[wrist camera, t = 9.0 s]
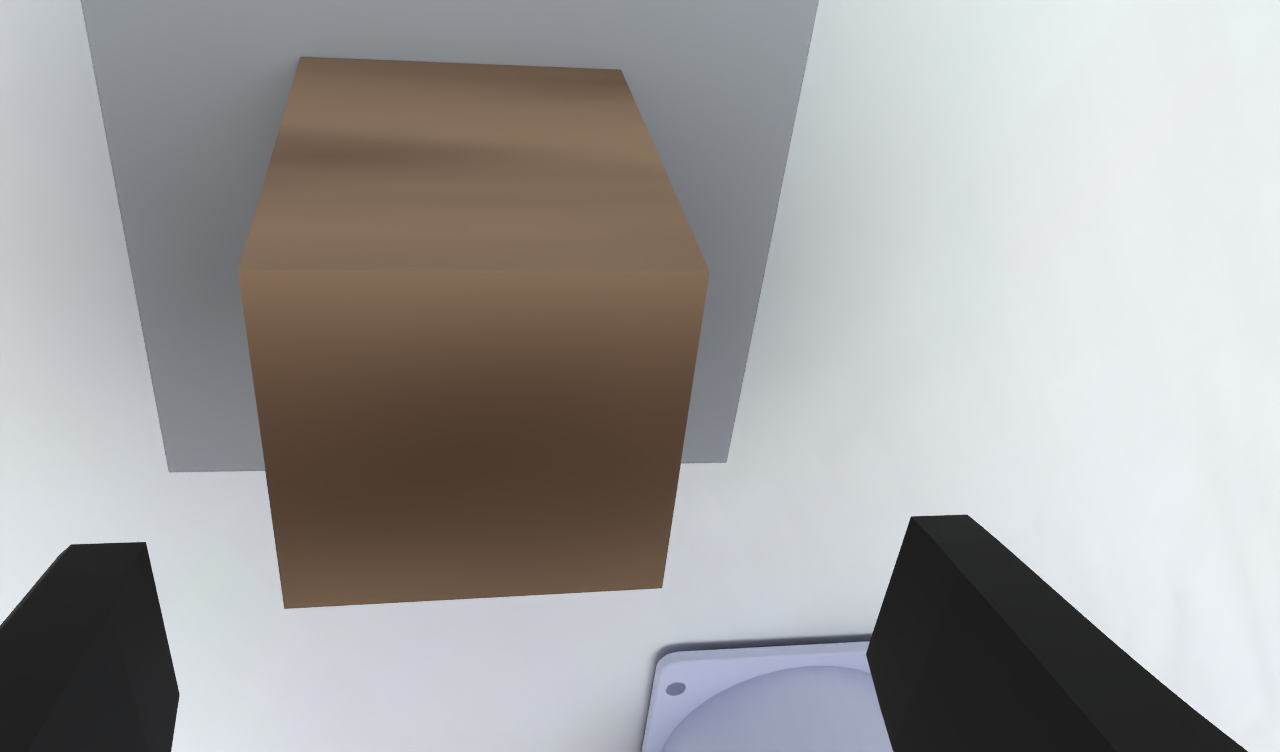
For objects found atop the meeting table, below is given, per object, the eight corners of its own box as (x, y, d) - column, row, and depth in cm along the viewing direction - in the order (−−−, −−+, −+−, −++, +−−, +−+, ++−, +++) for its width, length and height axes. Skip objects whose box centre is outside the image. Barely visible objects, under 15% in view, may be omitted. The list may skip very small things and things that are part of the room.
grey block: (695, 373, 23) (726, 462, 20) (199, 373, 21) (169, 471, 18) (781, -138, 17) (838, -98, 15) (111, -201, 15) (49, -168, 13)
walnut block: (598, 329, 18) (662, 587, 13) (324, 331, 17) (285, 608, 12) (620, 69, 15) (709, 271, 11) (300, 56, 15) (237, 270, 10)
